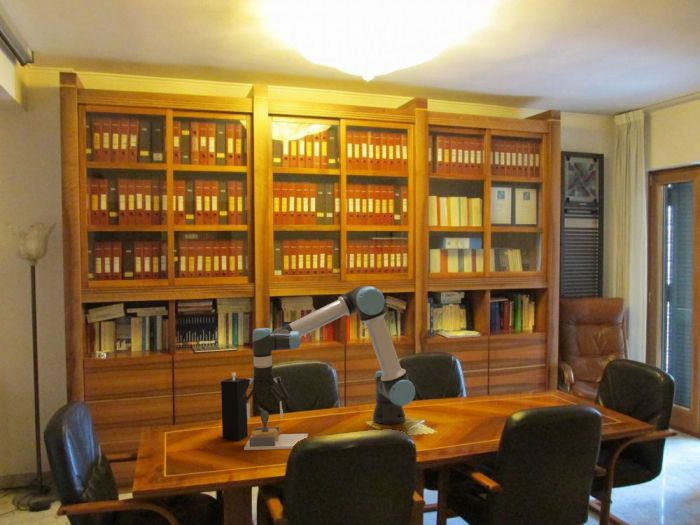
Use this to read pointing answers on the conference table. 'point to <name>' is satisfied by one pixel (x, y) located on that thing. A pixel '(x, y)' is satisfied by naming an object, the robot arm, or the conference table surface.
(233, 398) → the black square column
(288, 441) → the docking plate
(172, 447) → the conference table surface
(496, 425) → the conference table surface
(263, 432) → the rubber stamp
